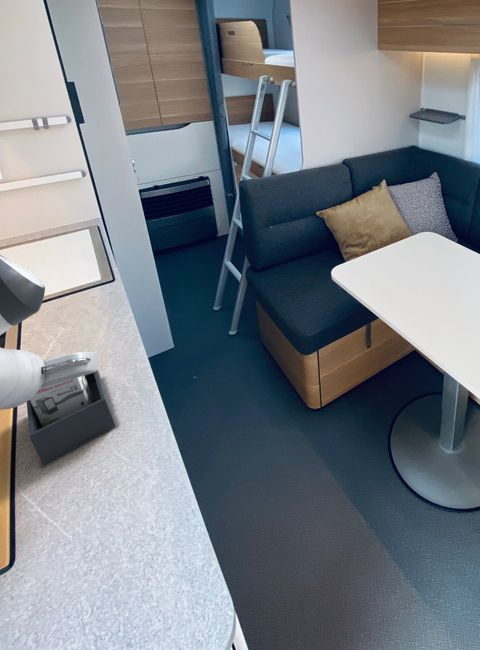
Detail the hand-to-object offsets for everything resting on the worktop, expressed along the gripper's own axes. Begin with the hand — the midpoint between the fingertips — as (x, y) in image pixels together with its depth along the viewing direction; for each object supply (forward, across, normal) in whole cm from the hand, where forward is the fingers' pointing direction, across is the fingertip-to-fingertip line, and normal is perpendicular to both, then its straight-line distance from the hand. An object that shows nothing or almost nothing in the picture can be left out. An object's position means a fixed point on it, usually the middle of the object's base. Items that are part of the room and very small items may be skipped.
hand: (45, 379), depth 78 cm
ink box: (+14, +1, +7) cm, 16 cm away
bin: (+14, 0, +8) cm, 16 cm away
